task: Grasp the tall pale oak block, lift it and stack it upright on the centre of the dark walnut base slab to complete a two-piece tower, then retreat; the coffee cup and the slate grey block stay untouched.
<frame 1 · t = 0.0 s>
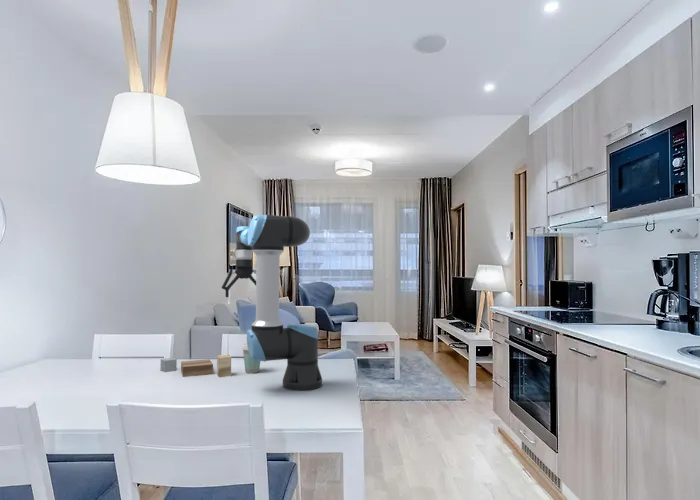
hand: (243, 303, 212), 28 cm above the table, fingers open, 13 cm apart
coffee cup: (252, 372, 193), on the table
slate grey block: (168, 370, 196), on the table
walnut base slab: (196, 372, 193), on the table
oak column block: (224, 375, 188), on the table
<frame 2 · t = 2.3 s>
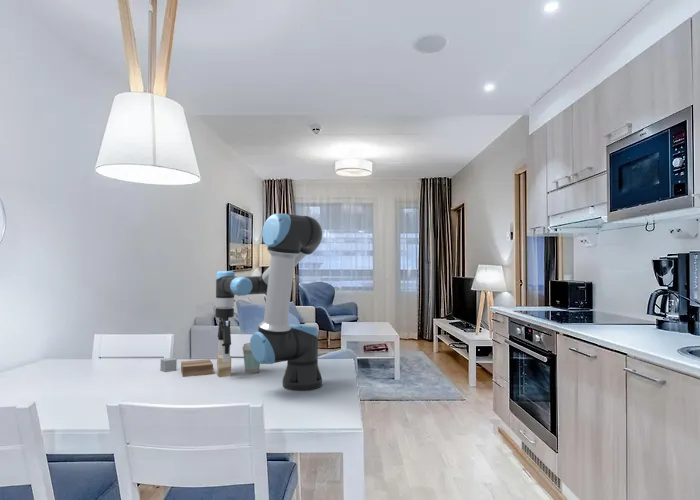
hand: (223, 358, 188), 7 cm above the table, fingers open, 13 cm apart
nothing on the table moved.
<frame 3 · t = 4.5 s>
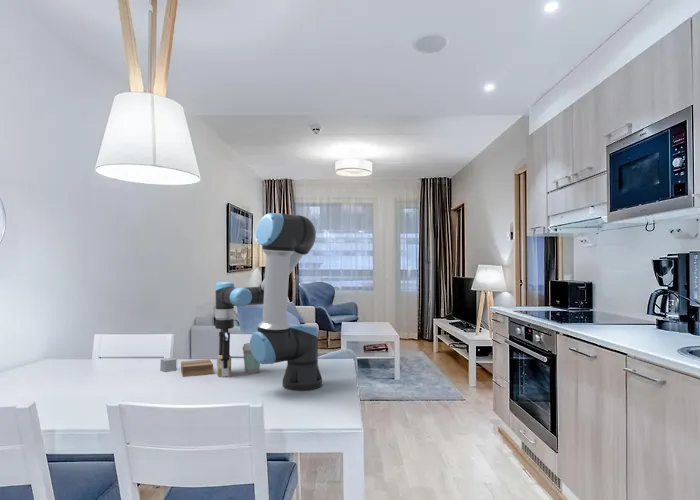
hand: (223, 374, 188), 0 cm above the table, fingers closed on oak column block, 5 cm apart
oak column block: (224, 375, 188), on the table, touching gripper
everything else where it was.
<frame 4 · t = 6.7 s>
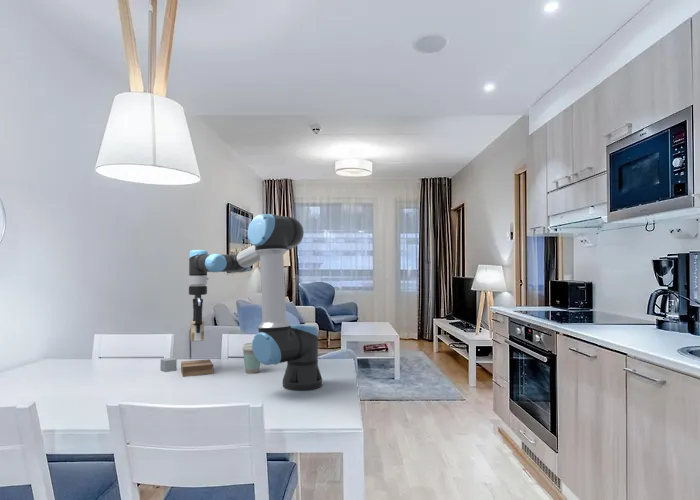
hand: (197, 339, 193), 14 cm above the table, fingers closed on oak column block, 5 cm apart
oak column block: (197, 340, 193), point 14 cm above the table, touching gripper
everything else where it was.
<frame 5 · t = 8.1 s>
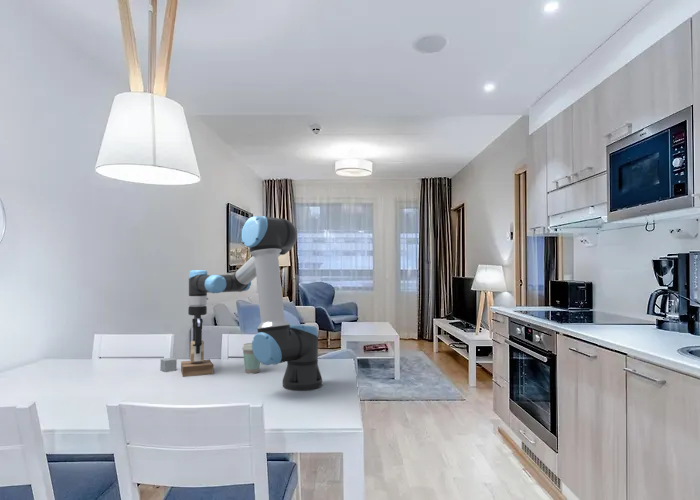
hand: (196, 359, 193), 5 cm above the table, fingers closed on oak column block, 5 cm apart
oak column block: (196, 360, 193), point 5 cm above the table, touching gripper
everything else where it was.
when the fingers open (5 cm above the table, at t = 8.9 s): oak column block stays where it is, resting on walnut base slab.
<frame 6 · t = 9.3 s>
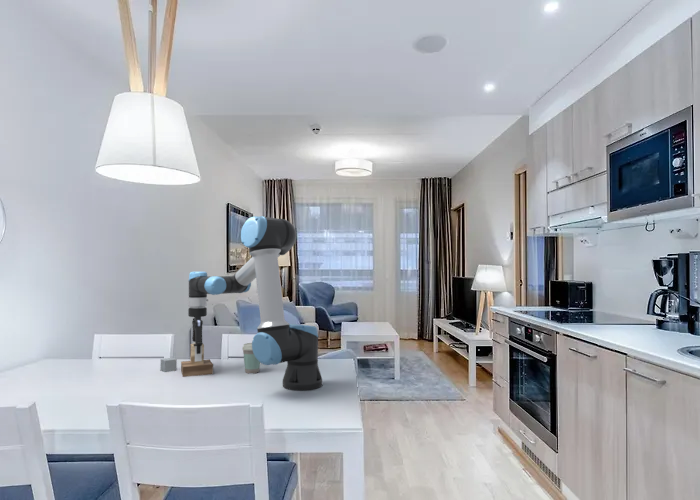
hand: (196, 358, 193), 6 cm above the table, fingers open, 10 cm apart
oak column block: (196, 363, 193), point 4 cm above the table, touching walnut base slab
everything else where it was.
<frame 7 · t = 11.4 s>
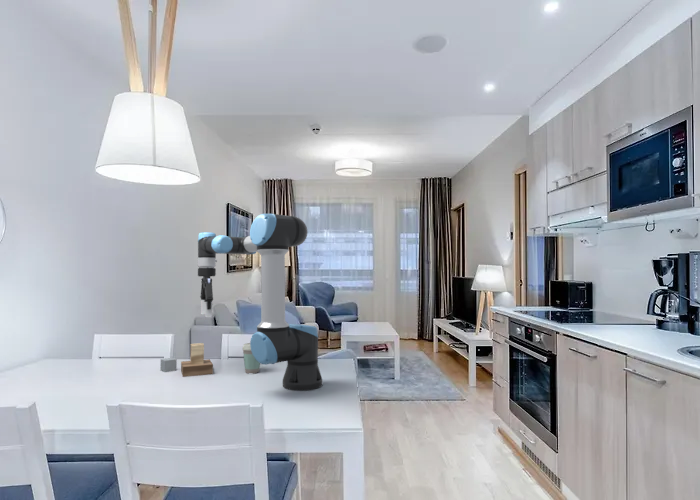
hand: (206, 315, 197), 24 cm above the table, fingers open, 13 cm apart
nothing on the table moved.
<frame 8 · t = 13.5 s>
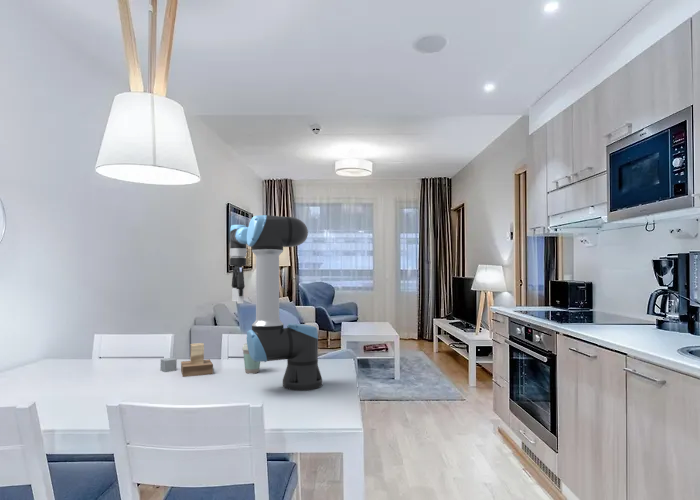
hand: (237, 302, 212), 29 cm above the table, fingers open, 13 cm apart
nothing on the table moved.
at the end: oak column block inside the target area on the walnut base slab (0.1 cm from its centre), point 4.0 cm above the walnut base slab's base; oak column block tilted 0°; the gripper is holding nothing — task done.
